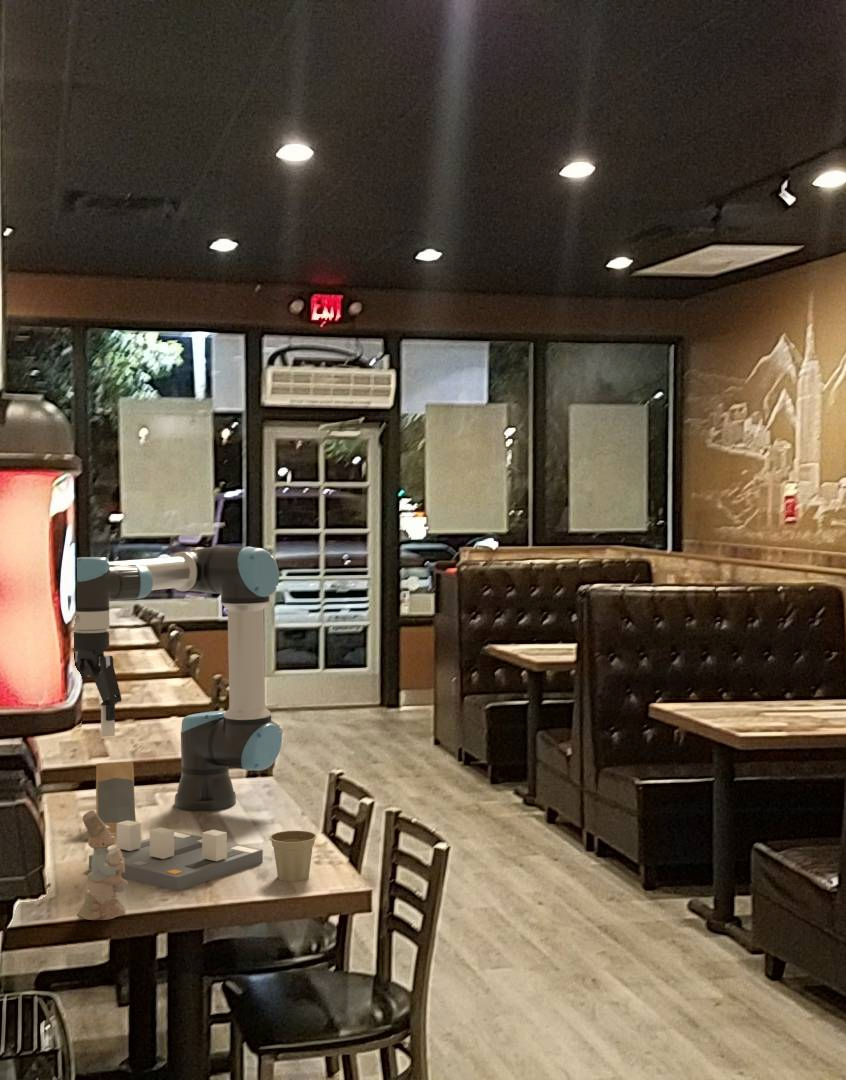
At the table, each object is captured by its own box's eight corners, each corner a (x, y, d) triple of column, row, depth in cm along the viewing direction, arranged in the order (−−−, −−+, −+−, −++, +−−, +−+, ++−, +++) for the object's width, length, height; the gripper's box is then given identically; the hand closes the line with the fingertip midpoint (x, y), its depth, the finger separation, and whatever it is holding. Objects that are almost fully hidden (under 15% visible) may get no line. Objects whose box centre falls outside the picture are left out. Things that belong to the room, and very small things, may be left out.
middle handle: (160, 852, 260) (160, 827, 260) (174, 855, 258) (174, 830, 258) (149, 855, 258) (149, 830, 258) (163, 858, 256) (163, 833, 255)
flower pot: (270, 872, 258) (270, 830, 257) (317, 871, 258) (317, 829, 258) (268, 886, 248) (268, 842, 248) (316, 885, 249) (316, 841, 249)
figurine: (78, 925, 225) (77, 814, 225) (77, 911, 233) (76, 803, 233) (129, 920, 228) (128, 810, 227) (126, 906, 236) (125, 800, 235)
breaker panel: (175, 844, 279) (175, 830, 279) (262, 863, 264) (262, 848, 263) (88, 870, 259) (88, 854, 259) (177, 892, 244) (177, 876, 244)
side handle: (127, 844, 266) (127, 820, 266) (140, 847, 264) (140, 823, 264) (116, 848, 264) (116, 823, 264) (129, 851, 261) (129, 826, 261)
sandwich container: (98, 844, 279) (97, 776, 279) (96, 827, 294) (95, 763, 294) (137, 841, 282) (137, 774, 281) (133, 824, 297) (133, 761, 296)
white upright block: (212, 854, 259) (212, 829, 258) (226, 857, 256) (226, 832, 256) (202, 858, 256) (202, 832, 256) (216, 861, 254) (216, 835, 254)
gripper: (45, 627, 271) (45, 726, 271) (105, 636, 253) (106, 742, 253) (77, 625, 276) (77, 722, 276) (138, 634, 258) (138, 737, 258)
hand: (91, 732), depth 265 cm, fingers open, 13 cm apart
